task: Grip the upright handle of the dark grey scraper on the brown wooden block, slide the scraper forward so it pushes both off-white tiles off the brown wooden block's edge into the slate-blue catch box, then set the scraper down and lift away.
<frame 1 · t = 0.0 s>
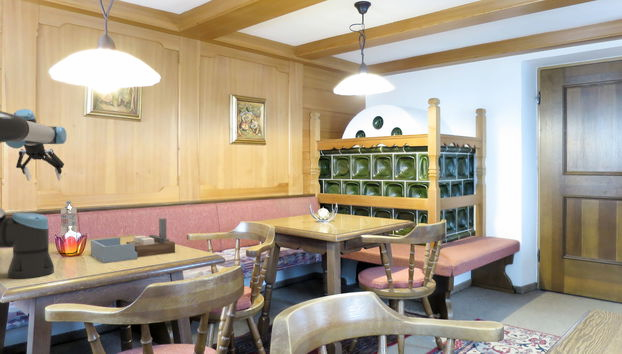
hand: (44, 178, 216), 36 cm above the table, tool tilted 35°, fingers open, 13 cm apart
scraper: (156, 241, 218), point 5 cm above the table, touching brown wooden block
brown wooden block: (150, 252, 216), on the table
water bottle: (69, 253, 215), on the table
catch box: (113, 256, 205), on the table
tile b: (140, 241, 217), point 5 cm above the table, touching brown wooden block
tile a: (147, 243, 211), point 5 cm above the table, touching brown wooden block
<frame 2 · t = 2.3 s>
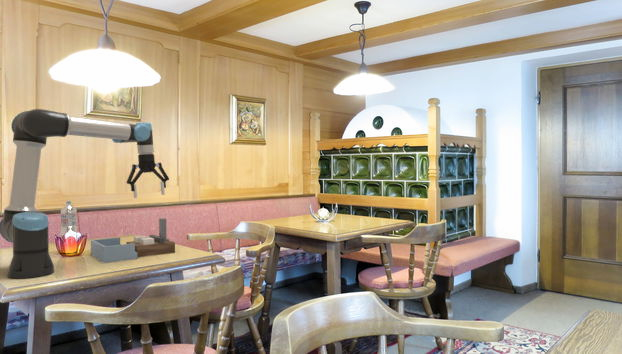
hand: (149, 196, 223), 27 cm above the table, tool pointing down, fingers open, 13 cm apart
nothing on the table moved.
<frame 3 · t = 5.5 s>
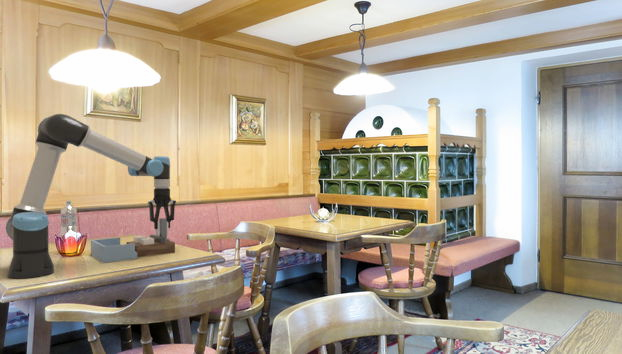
hand: (162, 235, 219), 8 cm above the table, tool pointing down, fingers closed on scraper, 4 cm apart
scraper: (157, 241, 218), point 5 cm above the table, touching gripper, brown wooden block
everything else where it was.
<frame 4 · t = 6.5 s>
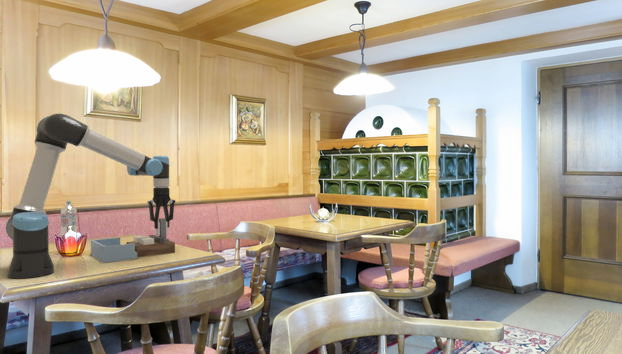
hand: (162, 234, 219), 8 cm above the table, tool pointing down, fingers open, 3 cm apart
scraper: (156, 241, 218), point 5 cm above the table, touching brown wooden block
everything else where it was.
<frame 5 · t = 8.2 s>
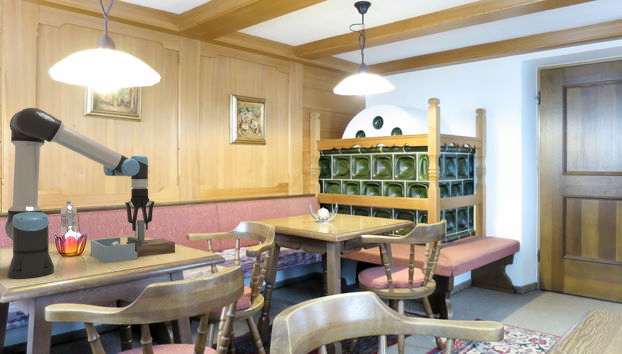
hand: (140, 237, 213), 8 cm above the table, tool pointing down, fingers open, 3 cm apart
scraper: (134, 243, 211), point 5 cm above the table, touching gripper, brown wooden block
tile b: (119, 246, 211), point 4 cm above the table, tilted 114°, touching catch box
tile a: (126, 248, 204), point 4 cm above the table, tilted 112°, touching catch box
everything else where it was.
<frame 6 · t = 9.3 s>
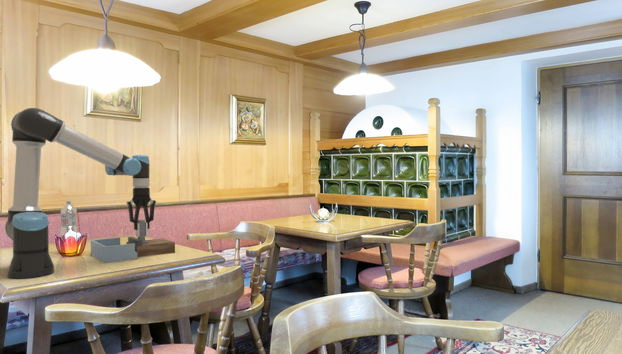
hand: (141, 236, 213), 8 cm above the table, tool pointing down
scraper: (134, 243, 211), point 5 cm above the table, touching gripper
tile b: (111, 248, 209), point 3 cm above the table, tilted 180°, touching catch box
tile a: (116, 251, 202), point 3 cm above the table, tilted 180°, touching catch box
everything else where it was.
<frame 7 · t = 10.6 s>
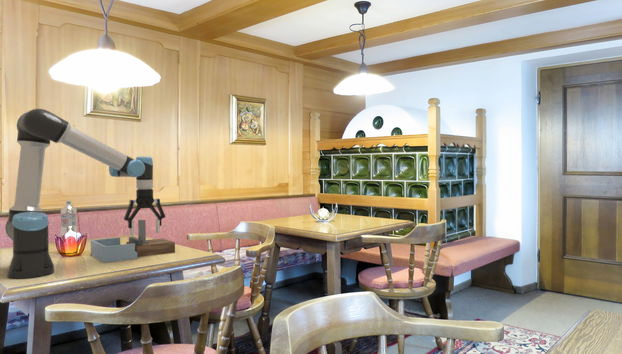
hand: (145, 234, 214), 9 cm above the table, tool pointing down, fingers open, 11 cm apart
scraper: (135, 243, 211), point 5 cm above the table, touching brown wooden block
everything else where it was.
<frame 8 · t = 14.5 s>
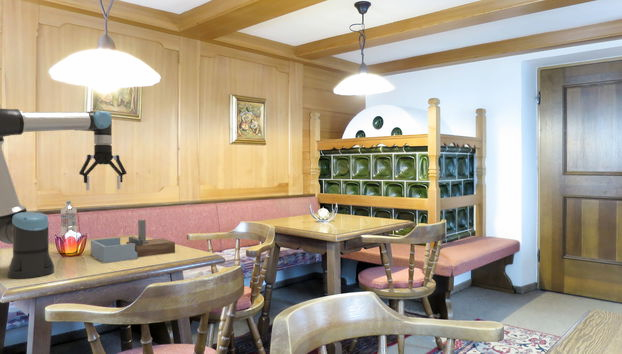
hand: (103, 189, 210), 31 cm above the table, tool pointing down, fingers open, 13 cm apart
nothing on the table moved.
at the end: tile a inside the target area (4.5 cm from its centre), point 3.1 cm above the table; tile b inside the target area (4.1 cm from its centre), point 3.1 cm above the table; scraper point 5.0 cm above the table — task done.
